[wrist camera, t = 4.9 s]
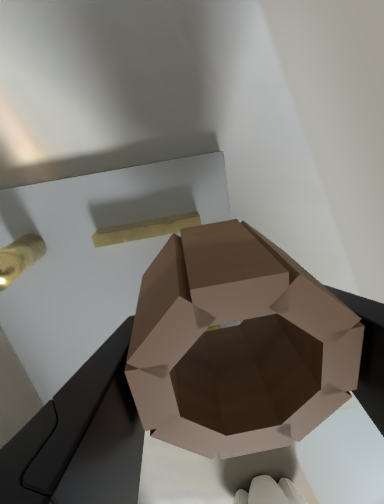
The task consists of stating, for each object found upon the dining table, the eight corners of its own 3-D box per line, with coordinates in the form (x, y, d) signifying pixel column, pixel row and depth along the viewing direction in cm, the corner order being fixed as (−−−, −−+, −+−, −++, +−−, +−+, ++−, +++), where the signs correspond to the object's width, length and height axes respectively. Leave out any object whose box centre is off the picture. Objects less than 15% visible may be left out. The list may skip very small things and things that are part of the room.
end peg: (50, 256, 14) (15, 289, 11) (24, 261, 14) (-20, 295, 10) (40, 231, 13) (0, 257, 10) (13, 236, 13) (-37, 264, 10)
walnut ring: (286, 334, 11) (351, 433, 7) (161, 357, 10) (158, 472, 7) (284, 210, 9) (373, 256, 5) (130, 237, 8) (101, 306, 5)
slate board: (245, 377, 19) (248, 386, 19) (58, 415, 19) (54, 425, 18) (219, 151, 13) (223, 151, 13) (-54, 198, 13) (-67, 201, 12)
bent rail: (220, 330, 17) (227, 352, 15) (134, 347, 16) (130, 372, 15) (202, 210, 14) (208, 219, 12) (97, 229, 13) (86, 241, 12)
